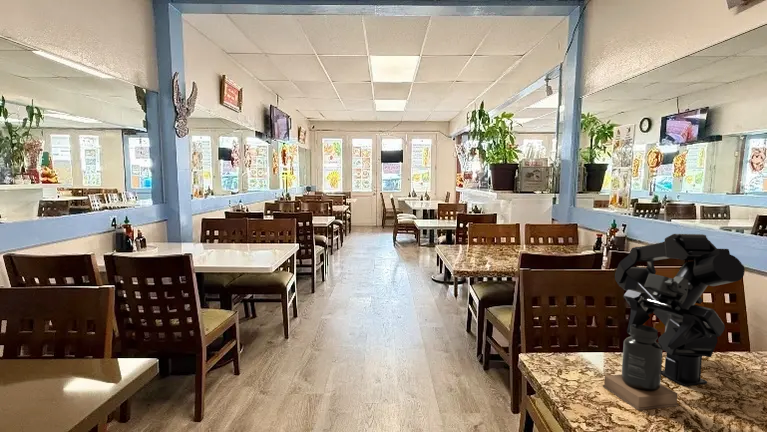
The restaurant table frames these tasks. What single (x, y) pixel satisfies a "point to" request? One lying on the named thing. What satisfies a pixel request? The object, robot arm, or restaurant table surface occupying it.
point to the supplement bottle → (642, 358)
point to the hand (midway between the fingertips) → (648, 340)
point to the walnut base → (640, 394)
